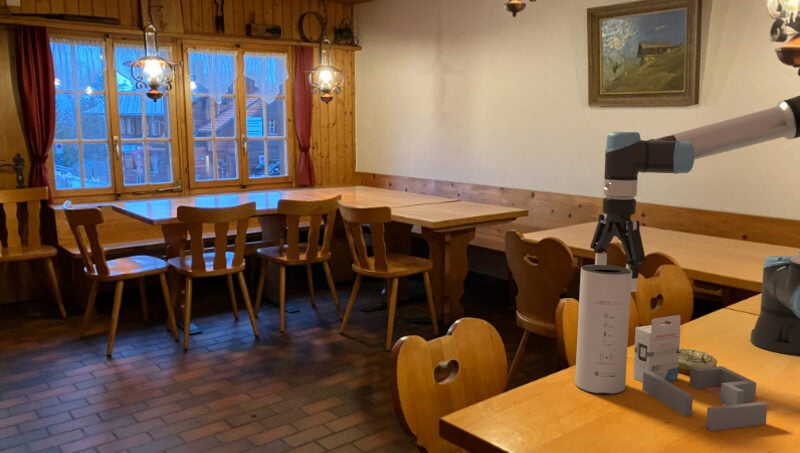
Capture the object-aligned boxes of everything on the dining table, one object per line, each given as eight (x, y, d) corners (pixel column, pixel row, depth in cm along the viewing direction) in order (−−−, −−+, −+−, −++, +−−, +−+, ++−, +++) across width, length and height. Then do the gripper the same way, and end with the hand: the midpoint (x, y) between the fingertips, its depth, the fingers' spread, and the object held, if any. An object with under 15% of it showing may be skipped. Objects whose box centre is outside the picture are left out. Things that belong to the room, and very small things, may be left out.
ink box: (661, 372, 155) (665, 309, 153) (678, 380, 150) (682, 314, 148) (632, 378, 151) (635, 313, 149) (648, 385, 147) (651, 319, 145)
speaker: (626, 380, 150) (632, 263, 146) (626, 398, 140) (633, 273, 136) (576, 375, 153) (580, 260, 149) (573, 392, 143) (578, 270, 140)
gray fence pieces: (717, 382, 149) (718, 364, 148) (792, 421, 129) (794, 401, 129) (642, 389, 144) (643, 371, 144) (708, 431, 125) (709, 410, 124)
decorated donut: (710, 381, 150) (712, 364, 150) (660, 371, 156) (661, 355, 156) (720, 367, 159) (721, 351, 158) (671, 358, 165) (672, 343, 164)
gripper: (579, 192, 173) (575, 274, 176) (635, 203, 149) (630, 298, 152) (605, 192, 175) (601, 273, 178) (665, 202, 151) (659, 296, 154)
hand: (614, 285), depth 165 cm, fingers open, 13 cm apart
